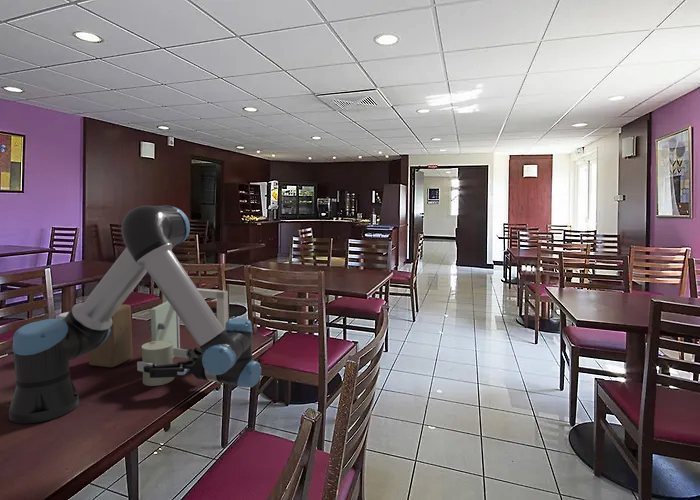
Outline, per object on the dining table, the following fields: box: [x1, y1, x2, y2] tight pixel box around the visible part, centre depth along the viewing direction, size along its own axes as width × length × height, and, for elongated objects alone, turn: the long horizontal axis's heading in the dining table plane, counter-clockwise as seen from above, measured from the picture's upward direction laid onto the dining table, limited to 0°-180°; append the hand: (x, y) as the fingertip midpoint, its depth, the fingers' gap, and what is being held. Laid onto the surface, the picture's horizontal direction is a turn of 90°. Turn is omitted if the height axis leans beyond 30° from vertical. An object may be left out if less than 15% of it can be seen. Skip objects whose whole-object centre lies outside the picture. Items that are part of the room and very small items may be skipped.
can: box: [141, 340, 175, 387], centre depth 131 cm, size 9×9×12 cm
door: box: [147, 301, 179, 359], centre depth 145 cm, size 5×18×21 cm, turn 0°
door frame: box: [162, 287, 229, 349], centre depth 153 cm, size 2×27×25 cm, turn 71°
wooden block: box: [87, 303, 133, 368], centre depth 145 cm, size 10×10×20 cm
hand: (155, 358), depth 131 cm, fingers open, 13 cm apart
